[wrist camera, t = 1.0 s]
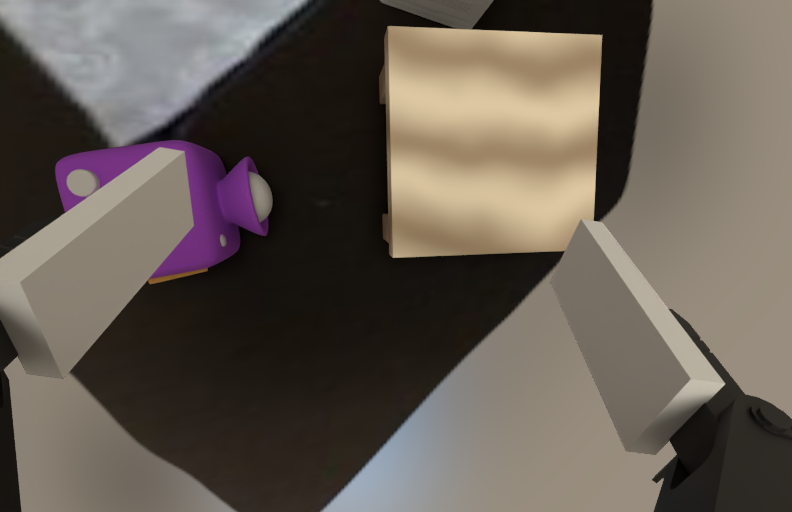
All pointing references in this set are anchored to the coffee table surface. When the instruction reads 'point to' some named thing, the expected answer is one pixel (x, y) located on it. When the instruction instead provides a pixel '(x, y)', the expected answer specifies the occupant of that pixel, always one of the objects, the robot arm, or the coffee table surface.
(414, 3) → the supplement box
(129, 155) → the toy camera
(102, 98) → the coffee table surface
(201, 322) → the coffee table surface
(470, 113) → the low wooden platform
